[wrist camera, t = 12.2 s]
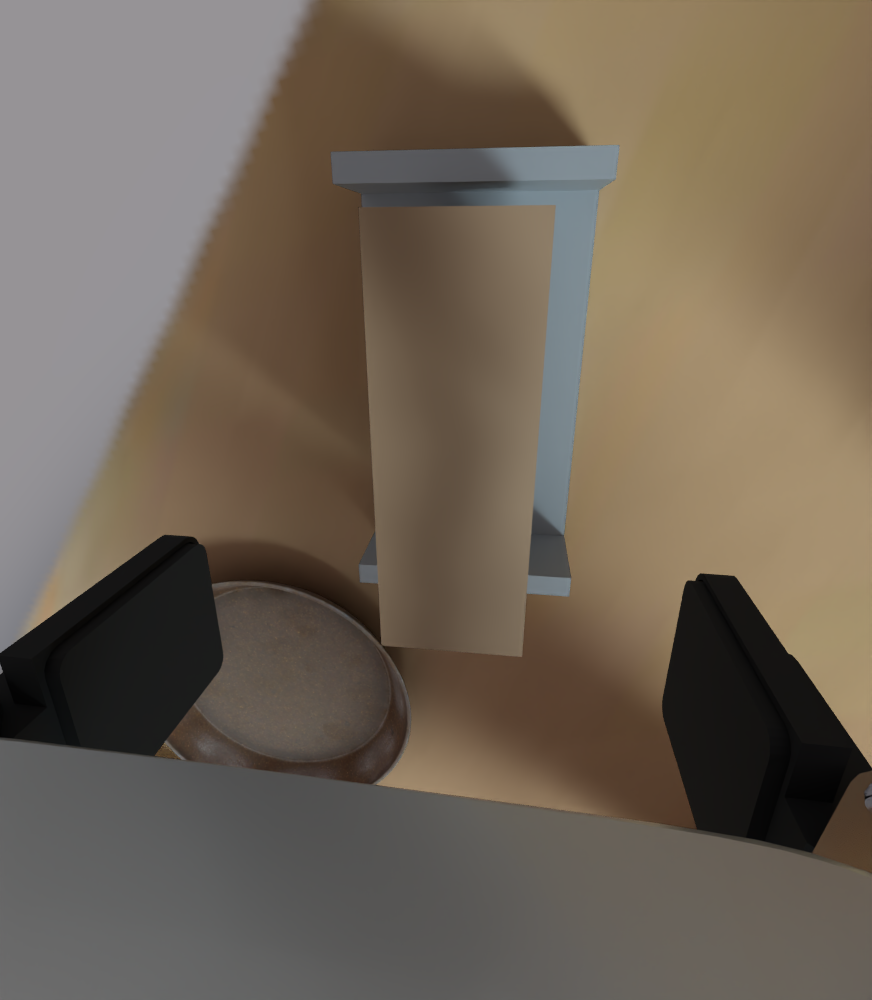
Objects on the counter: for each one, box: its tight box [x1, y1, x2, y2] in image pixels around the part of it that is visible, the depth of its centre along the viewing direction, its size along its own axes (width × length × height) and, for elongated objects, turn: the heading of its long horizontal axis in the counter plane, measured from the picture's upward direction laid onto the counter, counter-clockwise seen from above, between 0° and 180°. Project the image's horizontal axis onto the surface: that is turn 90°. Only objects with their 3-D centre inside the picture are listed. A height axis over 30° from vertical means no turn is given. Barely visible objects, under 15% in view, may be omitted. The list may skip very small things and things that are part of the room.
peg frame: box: [331, 145, 619, 596], centre depth 25 cm, size 10×18×5 cm, turn 0°
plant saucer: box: [165, 580, 411, 785], centre depth 36 cm, size 18×18×3 cm
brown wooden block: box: [358, 205, 556, 657], centre depth 21 cm, size 5×14×8 cm, turn 0°
